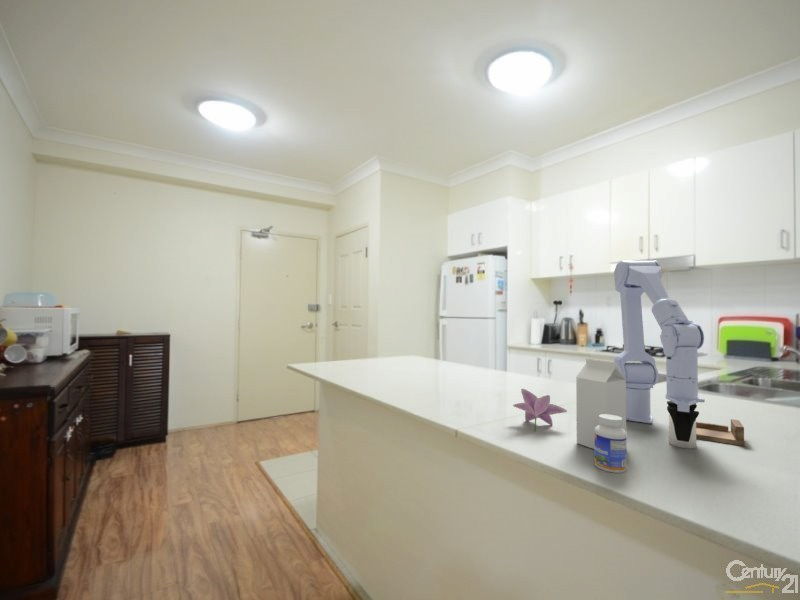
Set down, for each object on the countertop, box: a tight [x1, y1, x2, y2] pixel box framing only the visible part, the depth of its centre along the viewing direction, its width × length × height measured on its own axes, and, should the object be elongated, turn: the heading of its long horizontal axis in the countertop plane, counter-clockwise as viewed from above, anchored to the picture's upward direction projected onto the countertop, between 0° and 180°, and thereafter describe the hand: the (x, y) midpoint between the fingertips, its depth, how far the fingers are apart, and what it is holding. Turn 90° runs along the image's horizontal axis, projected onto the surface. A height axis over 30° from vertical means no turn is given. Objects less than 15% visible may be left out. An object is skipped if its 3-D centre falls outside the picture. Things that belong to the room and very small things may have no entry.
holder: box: [696, 418, 746, 447], centre depth 93 cm, size 11×8×4 cm
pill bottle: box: [593, 414, 627, 474], centre depth 74 cm, size 5×5×10 cm
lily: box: [512, 388, 568, 432], centre depth 99 cm, size 12×12×10 cm
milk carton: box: [575, 358, 627, 450], centre depth 86 cm, size 7×7×19 cm
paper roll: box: [668, 414, 697, 450], centre depth 87 cm, size 5×5×6 cm
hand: (682, 437), depth 87 cm, fingers closed on paper roll, 5 cm apart
